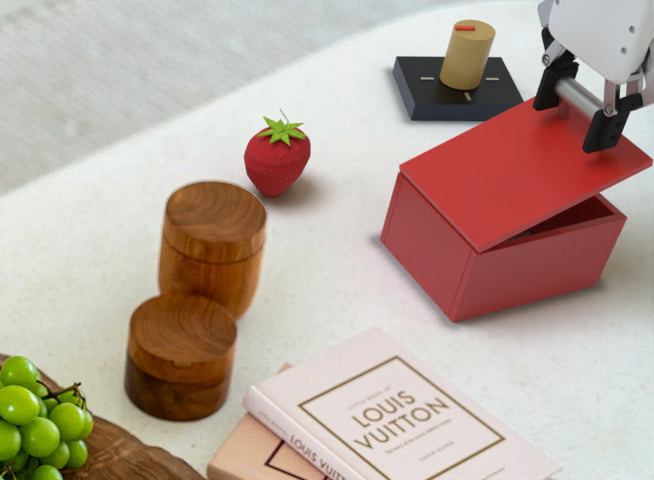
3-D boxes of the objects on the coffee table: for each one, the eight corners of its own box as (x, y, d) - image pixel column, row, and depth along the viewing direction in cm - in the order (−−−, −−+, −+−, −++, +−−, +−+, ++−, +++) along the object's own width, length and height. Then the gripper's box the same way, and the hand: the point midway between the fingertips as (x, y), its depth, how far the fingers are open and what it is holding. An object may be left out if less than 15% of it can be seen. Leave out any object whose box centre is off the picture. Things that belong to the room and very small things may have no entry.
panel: (493, 80, 133) (501, 55, 131) (517, 128, 126) (526, 103, 124) (390, 79, 133) (396, 54, 131) (408, 128, 126) (415, 102, 124)
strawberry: (223, 201, 117) (235, 116, 109) (269, 171, 120) (284, 86, 113) (269, 227, 114) (285, 141, 107) (315, 195, 117) (333, 110, 110)
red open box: (512, 214, 116) (540, 140, 109) (593, 292, 107) (628, 217, 101) (377, 247, 112) (397, 172, 105) (450, 330, 104) (477, 254, 97)
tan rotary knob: (474, 69, 129) (490, 16, 124) (484, 90, 126) (501, 37, 121) (435, 68, 129) (450, 16, 124) (444, 90, 126) (459, 37, 121)
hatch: (559, 90, 105) (561, 45, 101) (652, 166, 97) (659, 120, 93) (399, 171, 105) (395, 129, 101) (478, 253, 97) (478, 211, 93)
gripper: (772, -35, 82) (677, 173, 95) (613, -130, 93) (547, 68, 106) (686, -15, 80) (601, 193, 93) (534, -114, 91) (478, 85, 105)
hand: (573, 125), depth 100 cm, fingers closed on hatch, 6 cm apart
